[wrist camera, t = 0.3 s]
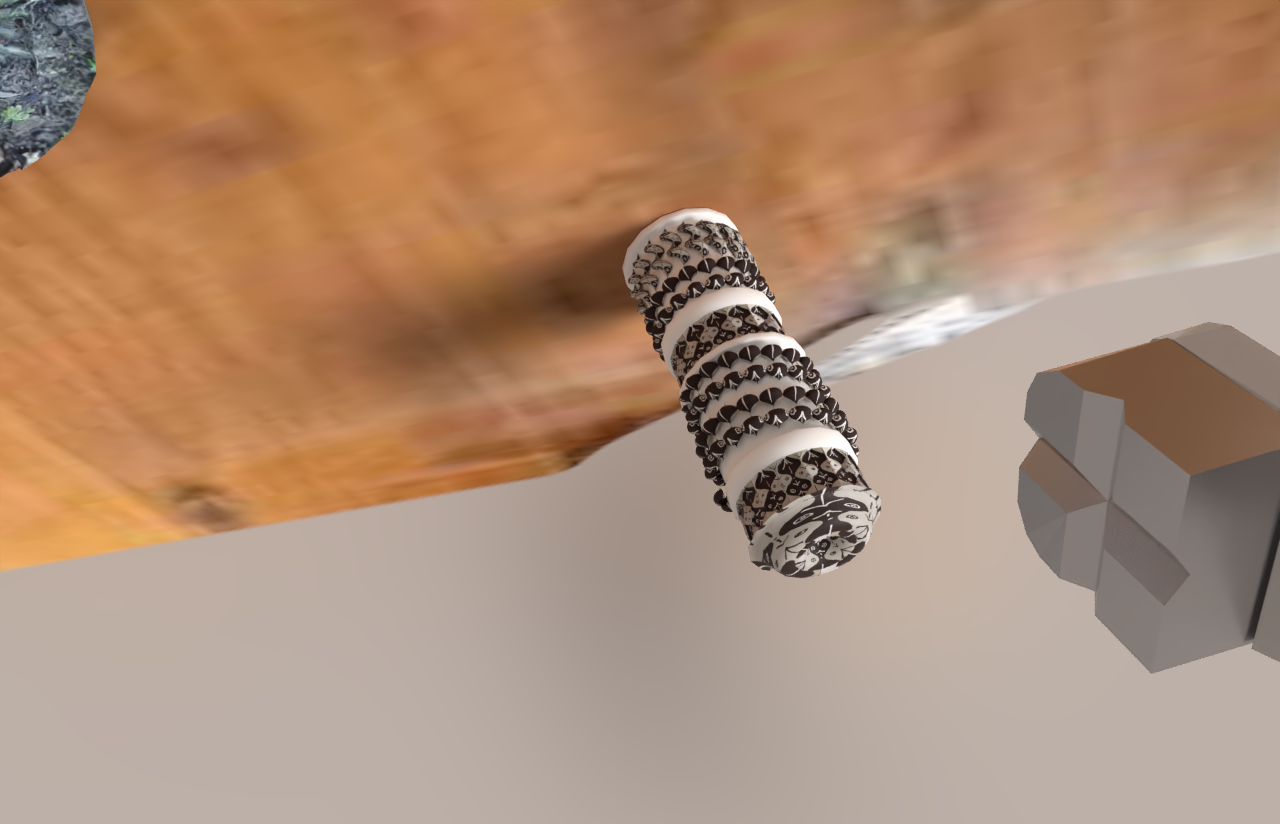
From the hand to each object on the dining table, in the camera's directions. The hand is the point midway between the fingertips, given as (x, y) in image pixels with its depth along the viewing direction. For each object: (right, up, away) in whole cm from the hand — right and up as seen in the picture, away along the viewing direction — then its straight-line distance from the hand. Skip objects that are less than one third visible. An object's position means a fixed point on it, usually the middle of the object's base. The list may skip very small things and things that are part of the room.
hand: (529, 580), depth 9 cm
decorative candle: (+4, +12, +74) cm, 75 cm away
